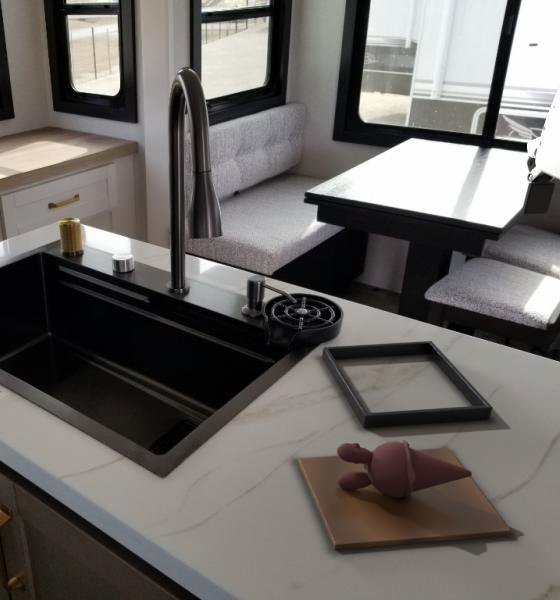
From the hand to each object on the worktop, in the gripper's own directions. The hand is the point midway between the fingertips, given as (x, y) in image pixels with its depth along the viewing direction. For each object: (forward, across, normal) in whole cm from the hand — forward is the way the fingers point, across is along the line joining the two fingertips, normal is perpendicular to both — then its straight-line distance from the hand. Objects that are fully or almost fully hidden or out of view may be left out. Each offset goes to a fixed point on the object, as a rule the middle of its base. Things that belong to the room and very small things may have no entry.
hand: (558, 226), depth 78 cm
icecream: (+28, -14, +22) cm, 38 cm away
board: (+28, -14, +22) cm, 38 cm away
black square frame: (+28, +8, +12) cm, 32 cm away
